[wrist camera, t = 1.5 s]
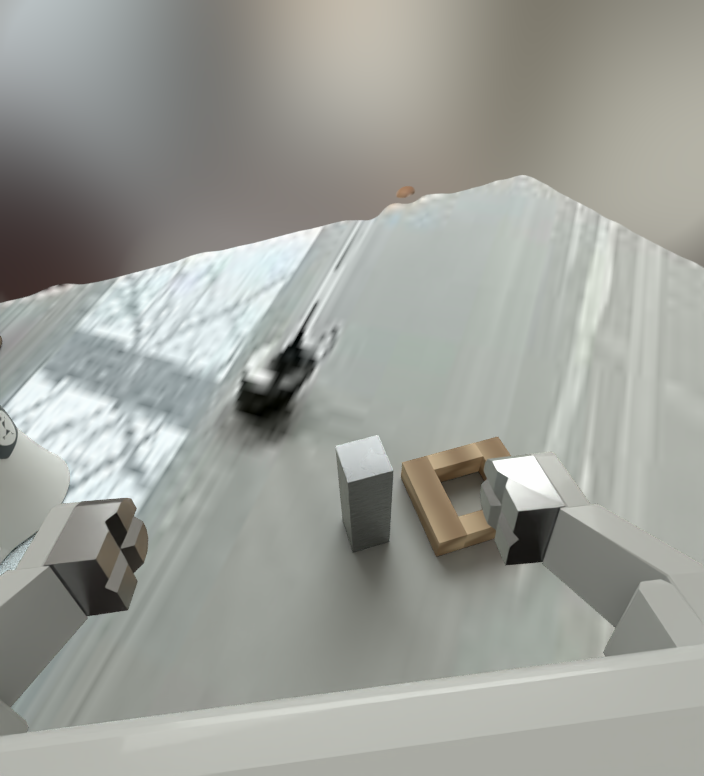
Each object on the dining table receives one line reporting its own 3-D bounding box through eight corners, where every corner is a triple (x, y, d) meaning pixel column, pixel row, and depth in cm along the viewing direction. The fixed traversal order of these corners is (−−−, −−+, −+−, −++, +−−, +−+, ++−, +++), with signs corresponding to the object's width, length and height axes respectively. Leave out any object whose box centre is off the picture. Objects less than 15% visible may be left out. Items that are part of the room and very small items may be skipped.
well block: (436, 556, 45) (439, 543, 43) (401, 477, 52) (402, 462, 50) (540, 523, 47) (547, 509, 45) (493, 451, 54) (497, 436, 52)
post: (352, 552, 46) (347, 482, 37) (342, 518, 49) (335, 446, 39) (389, 541, 47) (393, 470, 37) (377, 508, 49) (377, 435, 40)
